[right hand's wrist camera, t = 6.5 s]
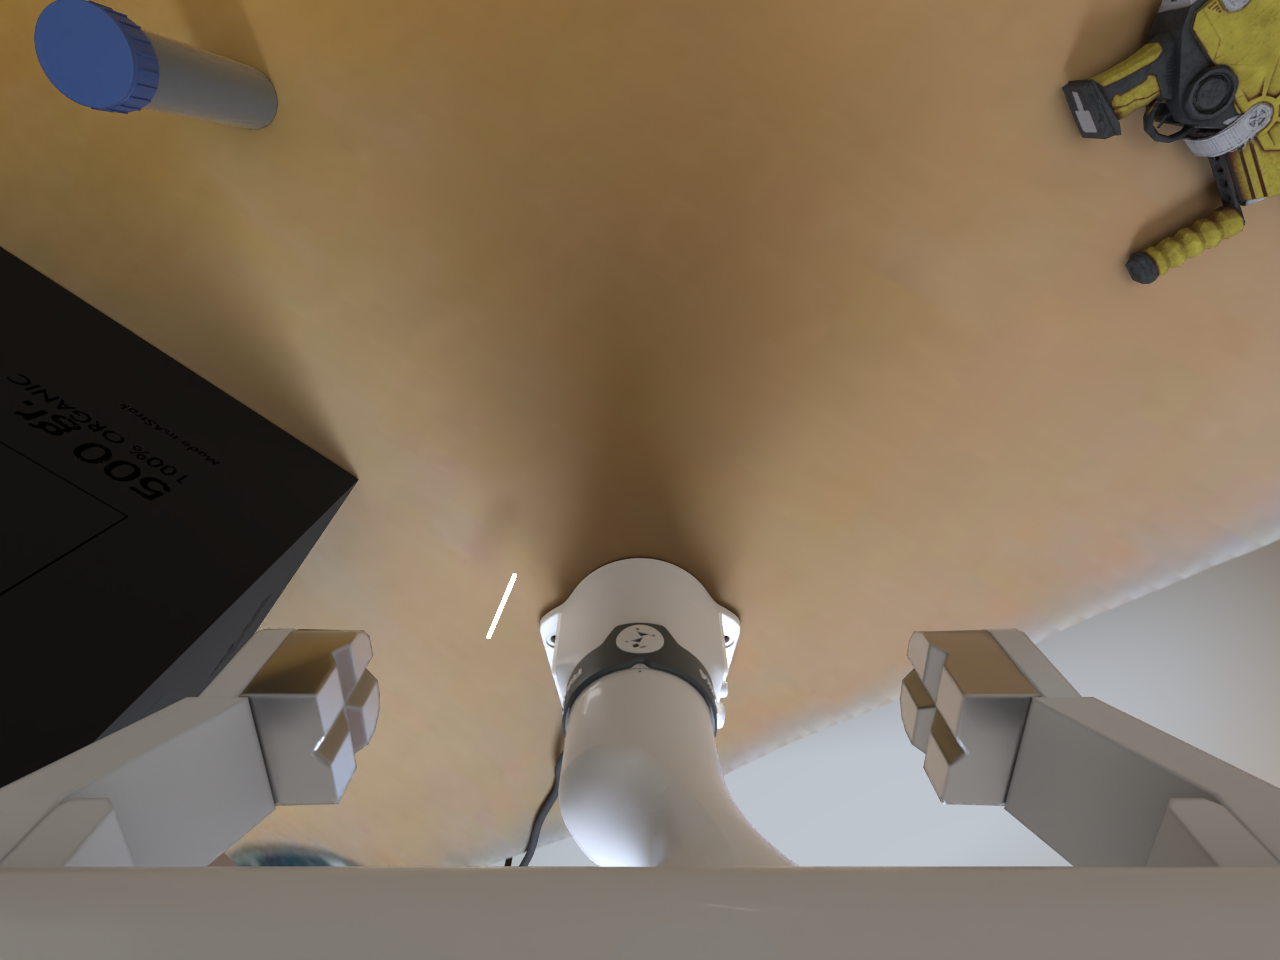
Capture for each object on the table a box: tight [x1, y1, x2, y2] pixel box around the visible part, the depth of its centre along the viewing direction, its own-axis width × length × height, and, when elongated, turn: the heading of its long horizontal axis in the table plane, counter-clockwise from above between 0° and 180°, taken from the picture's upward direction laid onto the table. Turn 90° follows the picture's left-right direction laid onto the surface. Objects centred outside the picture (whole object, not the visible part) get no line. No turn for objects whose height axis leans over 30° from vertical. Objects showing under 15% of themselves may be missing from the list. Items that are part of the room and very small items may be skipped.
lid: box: [35, 0, 160, 114], centre depth 36 cm, size 5×5×2 cm
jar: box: [141, 28, 277, 129], centre depth 43 cm, size 4×4×16 cm
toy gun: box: [1062, 0, 1280, 284], centre depth 50 cm, size 5×24×15 cm
